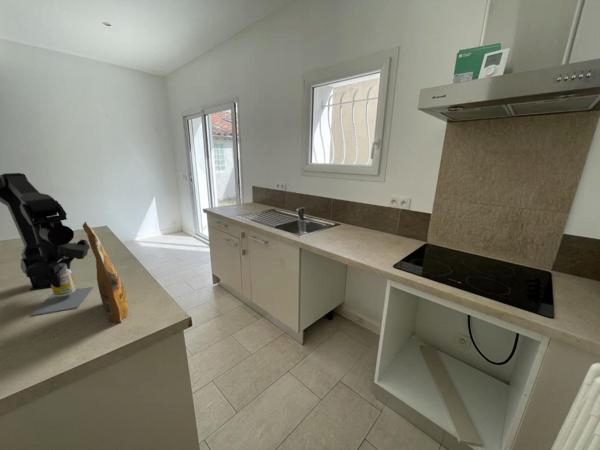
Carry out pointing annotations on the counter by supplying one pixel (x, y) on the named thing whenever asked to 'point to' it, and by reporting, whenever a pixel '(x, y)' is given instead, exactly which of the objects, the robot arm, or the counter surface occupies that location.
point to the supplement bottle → (65, 282)
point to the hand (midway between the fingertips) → (62, 282)
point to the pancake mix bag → (108, 281)
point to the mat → (62, 302)
